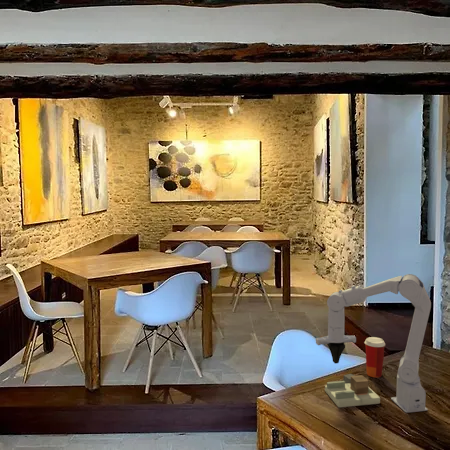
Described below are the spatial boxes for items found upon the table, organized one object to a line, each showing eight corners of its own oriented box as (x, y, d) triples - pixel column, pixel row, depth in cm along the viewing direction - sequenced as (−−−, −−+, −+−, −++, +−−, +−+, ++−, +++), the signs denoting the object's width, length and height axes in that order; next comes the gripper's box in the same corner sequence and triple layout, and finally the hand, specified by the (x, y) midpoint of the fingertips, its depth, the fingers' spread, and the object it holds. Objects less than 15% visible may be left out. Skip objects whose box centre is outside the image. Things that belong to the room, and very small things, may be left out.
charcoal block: (357, 386, 162) (357, 377, 162) (349, 388, 161) (349, 379, 160) (350, 382, 165) (351, 373, 165) (343, 384, 164) (343, 375, 163)
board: (380, 403, 149) (380, 392, 149) (338, 407, 147) (338, 396, 147) (363, 387, 161) (363, 376, 161) (324, 390, 159) (324, 380, 158)
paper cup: (381, 370, 175) (382, 336, 173) (386, 379, 167) (387, 344, 166) (361, 370, 176) (362, 336, 174) (365, 378, 168) (366, 343, 167)
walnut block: (368, 393, 152) (368, 380, 152) (356, 394, 152) (356, 381, 151) (362, 387, 157) (362, 375, 156) (350, 388, 156) (350, 376, 156)
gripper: (350, 321, 162) (349, 356, 163) (313, 323, 160) (312, 359, 161) (359, 327, 155) (358, 364, 156) (320, 330, 153) (319, 367, 154)
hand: (335, 362), depth 158 cm, fingers closed
